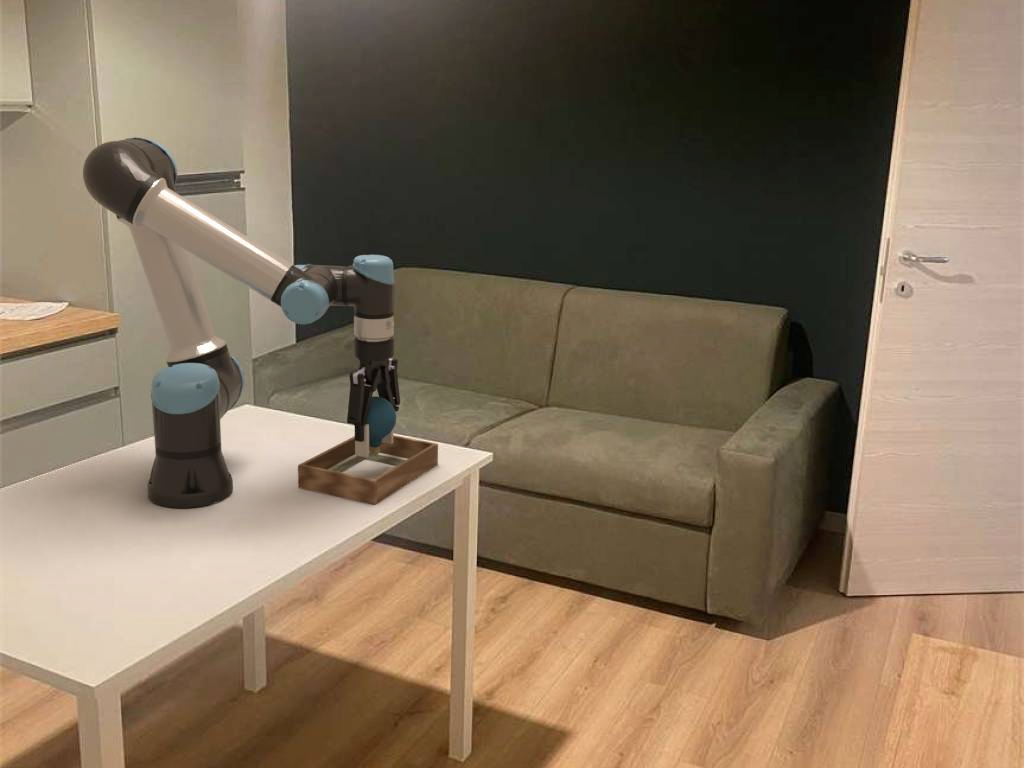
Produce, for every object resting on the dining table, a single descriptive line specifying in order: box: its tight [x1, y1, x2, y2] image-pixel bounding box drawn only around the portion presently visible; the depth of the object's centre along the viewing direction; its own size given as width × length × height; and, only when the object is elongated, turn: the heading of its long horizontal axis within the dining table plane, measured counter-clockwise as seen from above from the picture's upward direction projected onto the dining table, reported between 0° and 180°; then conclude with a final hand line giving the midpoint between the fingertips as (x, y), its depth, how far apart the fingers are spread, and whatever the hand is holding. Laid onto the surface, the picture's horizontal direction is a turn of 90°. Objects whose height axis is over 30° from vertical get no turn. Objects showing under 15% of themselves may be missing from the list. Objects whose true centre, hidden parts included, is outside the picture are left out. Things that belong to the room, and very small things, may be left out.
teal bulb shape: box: [366, 395, 397, 456], centre depth 206 cm, size 8×8×12 cm
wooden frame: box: [297, 434, 439, 505], centre depth 207 cm, size 17×24×4 cm
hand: (374, 448), depth 207 cm, fingers closed on teal bulb shape, 8 cm apart
